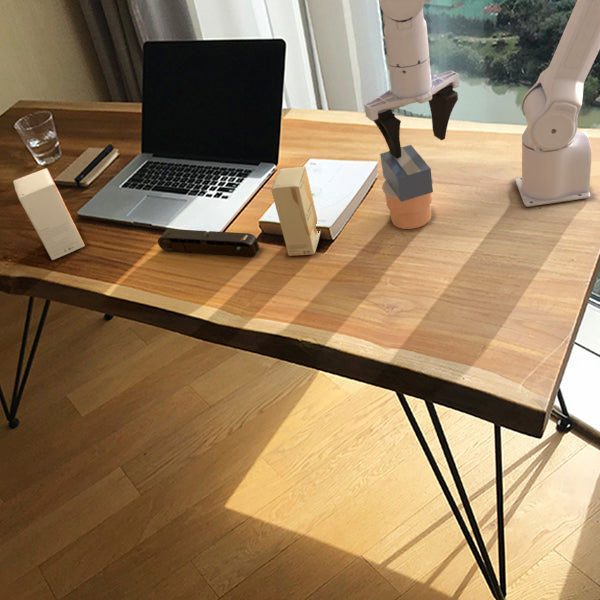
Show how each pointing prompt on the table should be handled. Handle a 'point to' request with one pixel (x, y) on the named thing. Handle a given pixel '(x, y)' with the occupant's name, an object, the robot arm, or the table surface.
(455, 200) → the table surface
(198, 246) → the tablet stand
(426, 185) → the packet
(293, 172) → the cosmetic box
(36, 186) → the small box
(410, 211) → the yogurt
